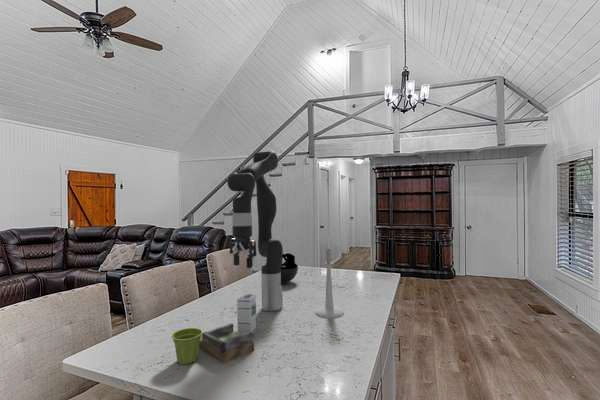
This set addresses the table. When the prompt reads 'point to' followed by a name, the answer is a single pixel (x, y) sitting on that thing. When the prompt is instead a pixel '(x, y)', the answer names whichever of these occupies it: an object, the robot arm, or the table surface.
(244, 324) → the syrup box
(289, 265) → the bowl of black rocks
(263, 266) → the robot arm
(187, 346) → the plant pot
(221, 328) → the dock
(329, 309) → the candlestick
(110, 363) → the table surface
